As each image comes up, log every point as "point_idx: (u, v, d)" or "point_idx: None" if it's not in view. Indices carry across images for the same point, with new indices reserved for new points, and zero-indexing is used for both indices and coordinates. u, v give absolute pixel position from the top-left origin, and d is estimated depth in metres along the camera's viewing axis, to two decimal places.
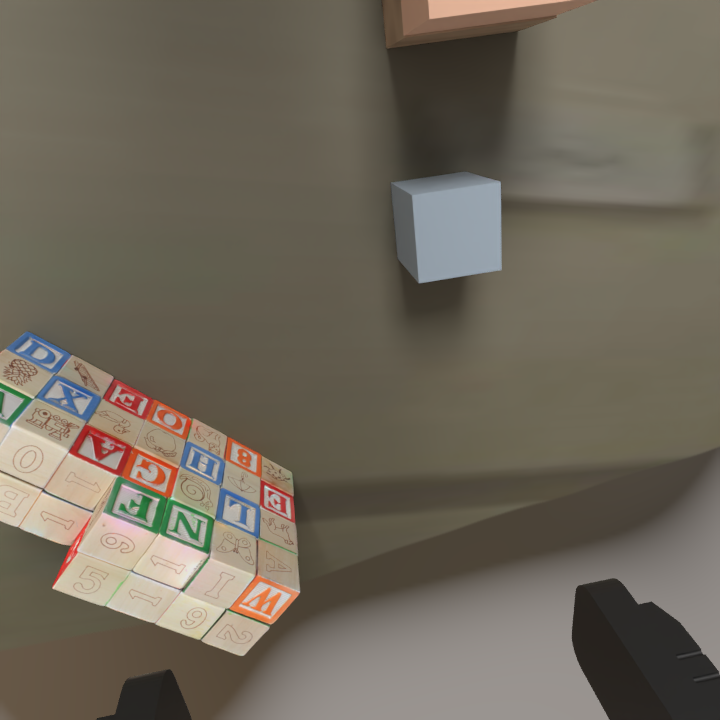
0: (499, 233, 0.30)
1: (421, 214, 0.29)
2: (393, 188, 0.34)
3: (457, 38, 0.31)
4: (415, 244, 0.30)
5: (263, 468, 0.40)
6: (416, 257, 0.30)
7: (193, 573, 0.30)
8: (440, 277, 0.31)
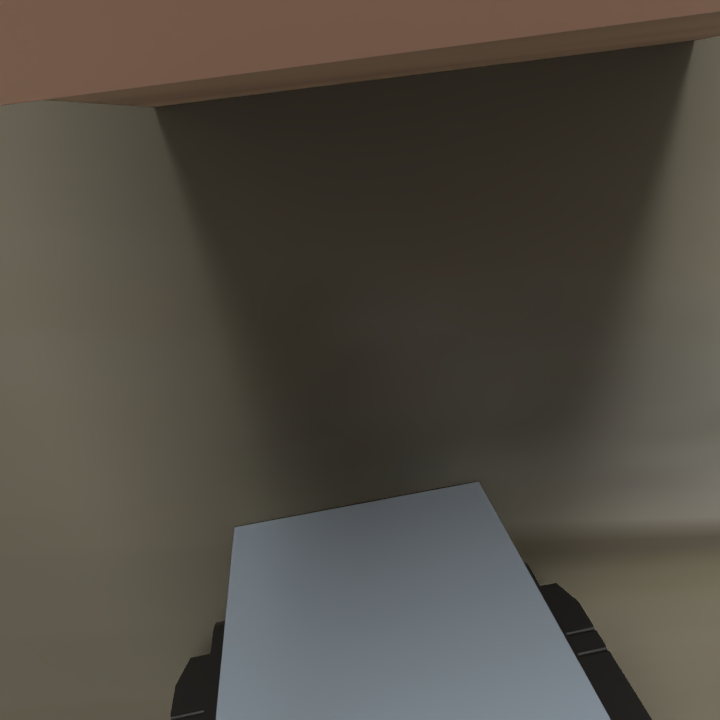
0: None
1: None
2: None
3: (455, 68, 0.07)
4: None
5: None
6: None
7: None
8: None
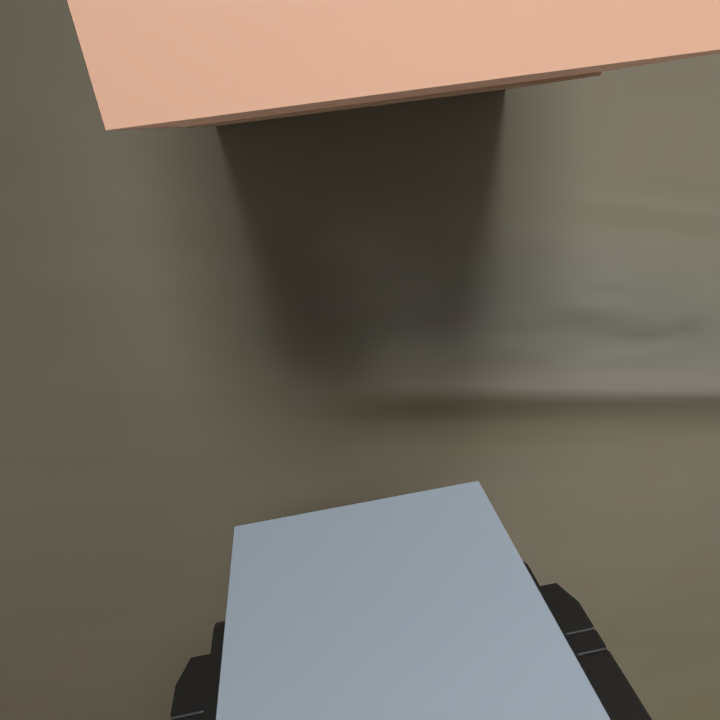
0: None
1: None
2: None
3: None
4: None
5: None
6: None
7: None
8: None
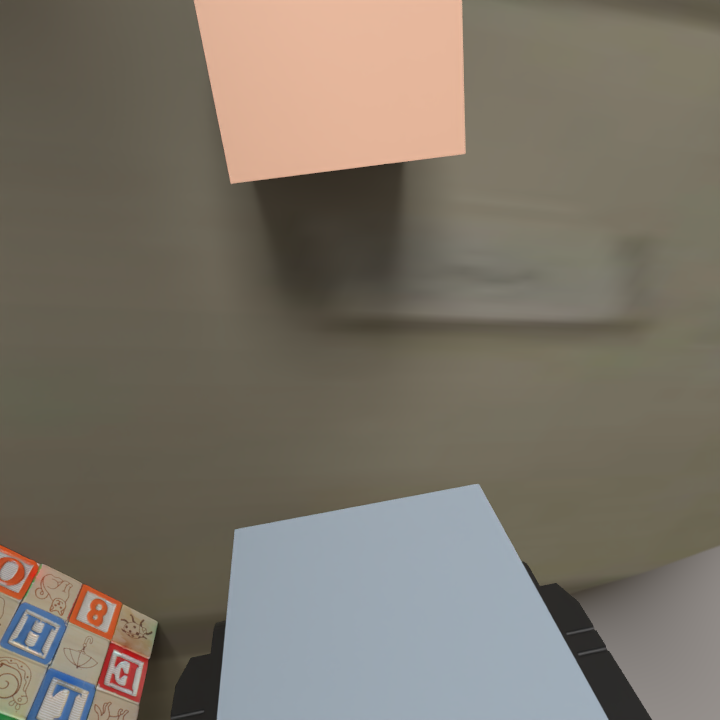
0: None
1: None
2: None
3: None
4: None
5: (119, 623, 0.35)
6: None
7: None
8: None
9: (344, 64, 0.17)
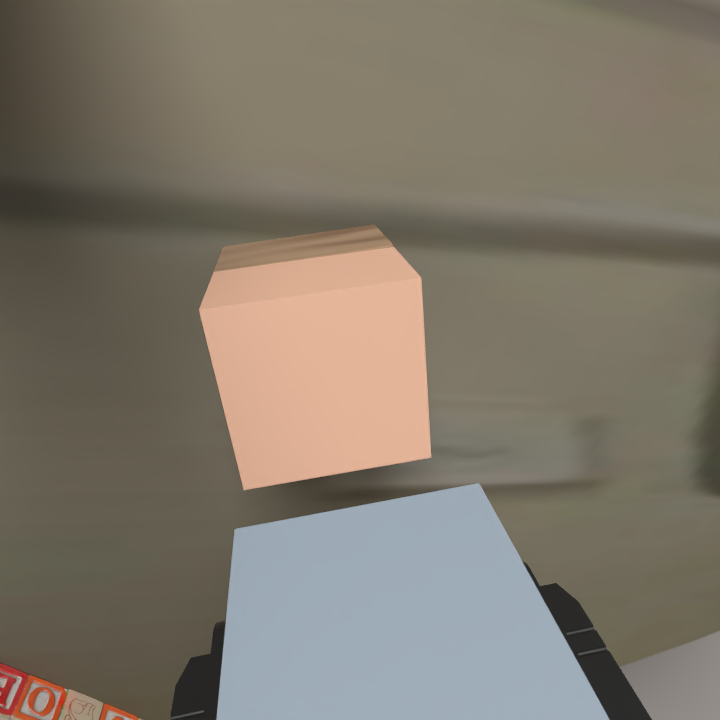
0: None
1: None
2: None
3: None
4: None
5: None
6: None
7: None
8: None
9: (333, 410, 0.21)
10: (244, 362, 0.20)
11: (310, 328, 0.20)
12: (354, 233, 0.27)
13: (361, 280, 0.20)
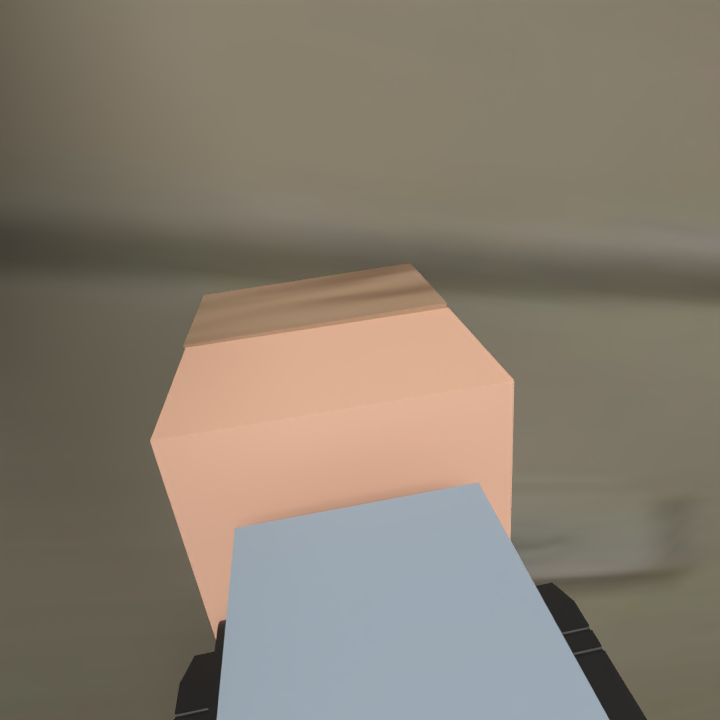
0: None
1: None
2: None
3: None
4: None
5: None
6: None
7: None
8: None
9: None
10: (228, 514, 0.12)
11: (334, 461, 0.12)
12: (385, 278, 0.19)
13: (415, 382, 0.12)
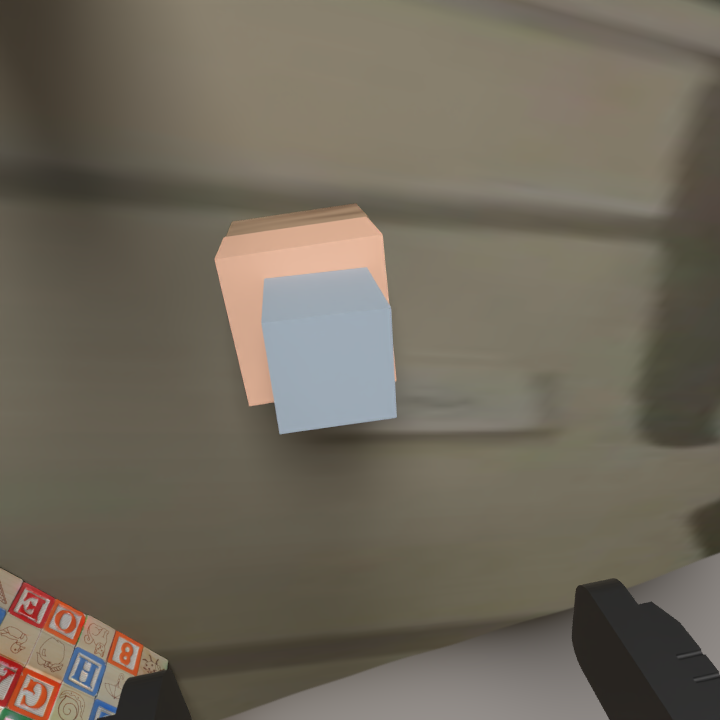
0: (391, 372, 0.22)
1: (277, 348, 0.21)
2: None
3: None
4: (272, 384, 0.21)
5: (141, 662, 0.46)
6: None
7: None
8: (310, 426, 0.22)
9: None
10: (249, 301, 0.26)
11: (299, 274, 0.26)
12: (338, 210, 0.33)
13: (337, 237, 0.26)
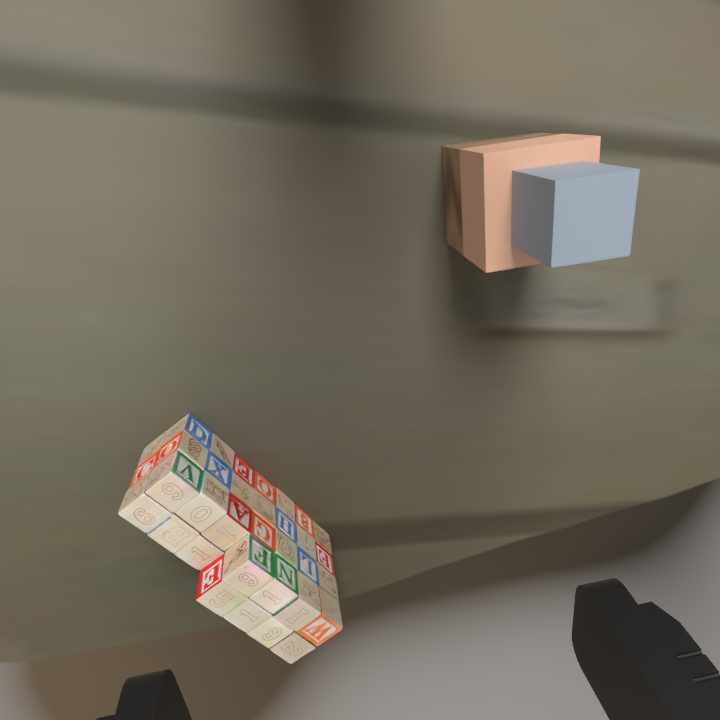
0: (632, 219, 0.31)
1: (562, 199, 0.30)
2: (517, 175, 0.34)
3: None
4: (552, 229, 0.31)
5: (314, 531, 0.56)
6: (551, 242, 0.31)
7: (284, 605, 0.45)
8: (572, 262, 0.32)
9: None
10: (500, 187, 0.35)
11: (538, 166, 0.35)
12: (528, 135, 0.42)
13: (565, 140, 0.35)
